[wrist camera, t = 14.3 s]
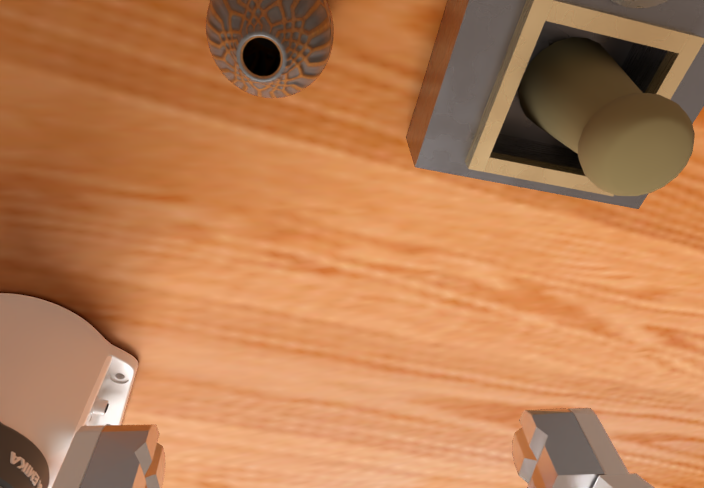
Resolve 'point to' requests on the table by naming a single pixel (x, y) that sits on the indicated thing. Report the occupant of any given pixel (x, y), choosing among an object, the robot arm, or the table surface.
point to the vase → (270, 43)
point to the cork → (606, 118)
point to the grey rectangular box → (511, 63)
